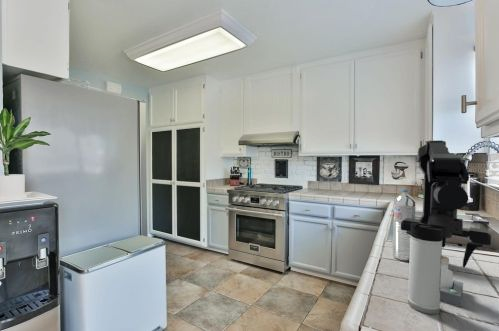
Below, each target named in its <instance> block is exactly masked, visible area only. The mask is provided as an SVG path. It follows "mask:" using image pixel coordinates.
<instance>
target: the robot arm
mask: <svg viewBox="0 0 499 331" xmlns="http://www.w3.org/2000/svg"><path fill="white" fill-rule="evenodd" d="M416 160H417V161H416V162H417V163H418V167H419V169H420V170H421V172H422V174H423V192H422V193H423V195H422V196H423V197H422V215H421V216H420V217H419V219H418V218H417V219H416V218H415V219H411V218H406V219H404V220H403V221H402V222H401V230H404V231H406V233H407V234H410V235H411V226H410V224H411V223H418V224H424V225H429V226H433V227H434V228H437V229H442V249H443V248H445V247H446V241H447V239H451V238H452V237H453V236H455V237H456V236H457V237H462V238H467V241H466V246H465V250H464V256H463V258H462V268H464V269H465V268H466V266H467V264H468V262H469V260H470V257H471V255H472V254H473V253H474V251H475V250H476V249H477V248H483V247H484V245H485V246H491V245H492V244H491V243H492V241H491V240H492V233H491V231H489V230H488V229H485V228H476V227H472V226H471V227H470V226H469V229H464V219H463V218H458V210H460V209H462V208H464V207H466V205H467V204H468V201H469V195H468V192H467V191H466V190H465V188H463V187H461V186H460V185H468V182H469V180H470V175H469V171H468V167H467V165H466V164H465V163H466V162H464V161H463V159H462V158H461V157H460V156H458V155H454V154H451V153H450V151H449V148H448V146H447V142H446V140H442V139H441V140H428V141H426V142H425V144H424V145H422V146H421V147H419V148H418V150H417V154H416Z"/></svg>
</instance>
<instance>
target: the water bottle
mask: <svg viewBox="0 0 499 331" xmlns="http://www.w3.org/2000/svg"><path fill="white" fill-rule="evenodd" d="M408 193H409V190H408V189H401V193H400V194H398V196H396V197H395V198H394V200H393V206H394V207H393V226H392V227H393V229H392V231H393V232H392V233H393V234H392V238H393V239H392V256H393V258H394V259H397V260H399V261H403V262H409V258H410V238H411V237H410V234H407V233H406V231H404V230H401V222H402V221H403V220H404V219H406V218H411V219H416V206H417V205H416V204H417V202H416V200H415V199H414V198H413V197H412V196H411V195H410V194H408Z"/></svg>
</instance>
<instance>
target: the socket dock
mask: <svg viewBox="0 0 499 331" xmlns="http://www.w3.org/2000/svg"><path fill="white" fill-rule="evenodd" d="M463 292H464V282H461V281H457V280H454V279H453V289H447V288H444V287H440V302H445V303H447V304H450V305H453V306H457V307H459V308H461V306H462V298H463V294H464V293H463Z"/></svg>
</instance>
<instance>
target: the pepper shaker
mask: <svg viewBox="0 0 499 331" xmlns="http://www.w3.org/2000/svg"><path fill="white" fill-rule="evenodd" d="M449 263H450V258H449V256H446V255H443V254H442V259H441V285H440V287H444V288H447V289H453V280H454V279H453V278H454V273H453V271H452V270H450V269H449V266H450V265H449Z"/></svg>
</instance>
